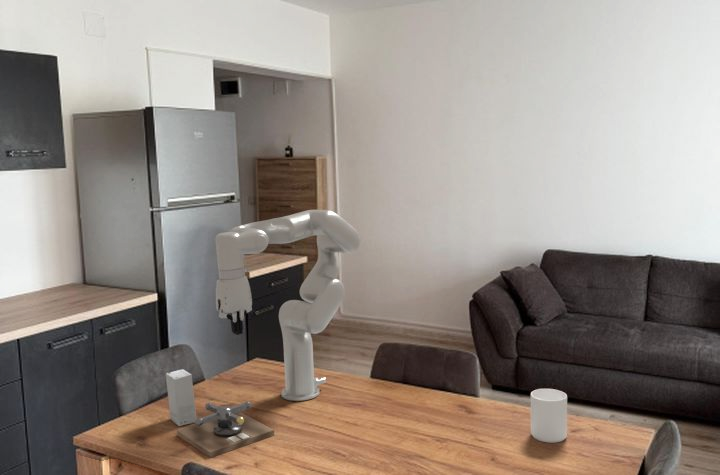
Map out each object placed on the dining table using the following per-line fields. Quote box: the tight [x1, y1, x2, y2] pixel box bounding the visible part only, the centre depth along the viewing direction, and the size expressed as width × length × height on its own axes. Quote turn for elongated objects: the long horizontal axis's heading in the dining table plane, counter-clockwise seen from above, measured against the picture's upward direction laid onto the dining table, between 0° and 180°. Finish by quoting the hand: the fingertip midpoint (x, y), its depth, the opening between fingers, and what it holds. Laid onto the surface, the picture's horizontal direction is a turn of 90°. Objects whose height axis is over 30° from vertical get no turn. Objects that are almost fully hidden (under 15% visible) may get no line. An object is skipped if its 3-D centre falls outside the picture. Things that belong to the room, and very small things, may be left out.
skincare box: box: [165, 369, 197, 427], centre depth 200 cm, size 8×6×15 cm
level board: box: [176, 411, 275, 458], centre depth 189 cm, size 20×20×2 cm
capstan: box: [194, 400, 252, 437], centre depth 188 cm, size 18×18×6 cm
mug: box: [530, 388, 568, 444], centre depth 181 cm, size 10×12×12 cm
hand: (237, 333), depth 199 cm, fingers closed
